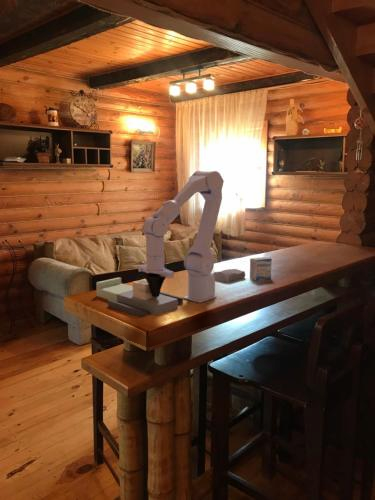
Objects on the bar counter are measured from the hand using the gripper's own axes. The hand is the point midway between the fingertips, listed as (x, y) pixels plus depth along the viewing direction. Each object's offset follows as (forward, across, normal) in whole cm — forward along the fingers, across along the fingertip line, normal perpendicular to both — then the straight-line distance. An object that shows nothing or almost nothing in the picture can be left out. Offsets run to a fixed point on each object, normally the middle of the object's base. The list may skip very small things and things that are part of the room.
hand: (155, 296), depth 140 cm
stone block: (+4, -7, +47) cm, 48 cm away
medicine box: (+4, +3, +56) cm, 57 cm away
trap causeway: (+4, -10, 0) cm, 11 cm away
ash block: (+1, -5, 0) cm, 5 cm away
